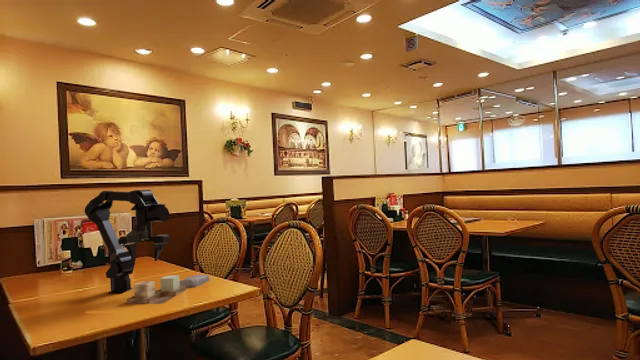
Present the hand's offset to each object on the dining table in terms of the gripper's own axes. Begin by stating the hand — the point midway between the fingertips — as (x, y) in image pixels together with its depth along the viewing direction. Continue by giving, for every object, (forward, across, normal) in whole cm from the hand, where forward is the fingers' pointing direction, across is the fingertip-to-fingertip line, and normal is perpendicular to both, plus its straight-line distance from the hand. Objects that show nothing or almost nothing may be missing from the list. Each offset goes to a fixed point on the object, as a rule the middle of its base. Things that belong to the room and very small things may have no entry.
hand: (145, 261), depth 153 cm
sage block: (+12, +12, -3) cm, 17 cm away
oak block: (+12, +7, -12) cm, 18 cm away
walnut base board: (+12, +9, -8) cm, 17 cm away
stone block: (+13, +14, +11) cm, 22 cm away
